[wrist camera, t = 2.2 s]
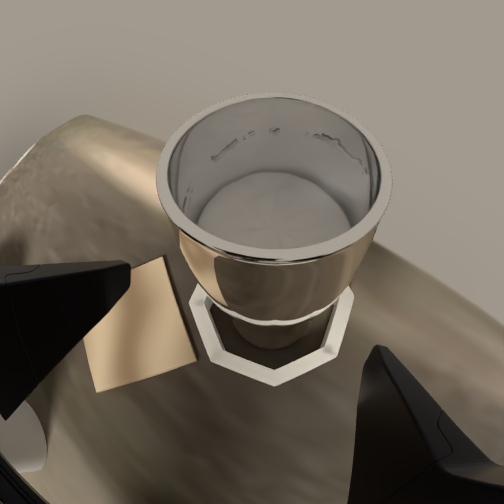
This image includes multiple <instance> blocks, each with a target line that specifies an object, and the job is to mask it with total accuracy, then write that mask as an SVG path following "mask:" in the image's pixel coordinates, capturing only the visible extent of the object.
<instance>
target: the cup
mask: <svg viewBox="0 0 504 504" xmlns="http://www.w3.org/2000/svg"><path fill="white" fill-rule="evenodd" d="M0 452H1V453H2V454H3V455H4V457H5V458H6V459H7V460H8V461H9V463H10V464H11V465H12V466H13V467H14V468H15V469H16V471H17V472H18V473H23V472H31V471H37V470H40V469H41V468H42V467H43V466H44V464H45V462H46V458H47V445H46V439H45V435H44V431H43V428H42V426H41V423H40V421H39V419H38V417H37V415H36V413H35V412H34V410H33V409H32V408H31V406H30V405H29V404H28V403H27V402H26V401H25V400H24V401H23V402H22V404H21V405H20V406H19V407H18V408H17V409H16V410H15V412H14V413H13V414H12V415H11V416H10V417H9V419H8V420H6V421H5V420H4V419H3V418H2V417H1V415H0Z"/></svg>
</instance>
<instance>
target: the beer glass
mask: <svg viewBox="0 0 504 504" xmlns="http://www.w3.org/2000/svg"><path fill="white" fill-rule="evenodd" d="M156 186H157V192H158V196H159V200H160V202H161V205H162V207H163V209H164V211H165V212H166V214H167V216H168V218H169V221H170V224H171V227H172V229H173V232H174V235H175V237H176V240H177V242H178V245H179V247H180V249H181V252H182V254H183V256H184V259H185V261H186V263H187V264H188V266H189V268H190V270H191V272H192V274H193V276H194V277H195V279H196V281H197V282H198V284H199V285H200V286H201V288H202V289H203V290H204V292H205V293H206V294H207V296H208V297H209V298H210V299H211V301H212V302H213V303H214V304H215V305H216V306H217V307H219V308H220V309H221V310H222V311H224V312H225V313H226V314H227V315H229V316H230V317H231V318H232V322H233V324H234V327H235V329H236V330H237V332H238V333H239V334H240V336H241V337H242V338H243V339H245V340H246V341H247V342H249V343H250V344H252V345H254V346H257V347H260V348H264V349H280V348H284V347H287V346H289V345H291V344H293V343H295V342H296V341H298V340H299V339H300V338H301V337H302V336H303V335H304V334H305V333H306V331H307V330H308V328H309V326H310V324H311V321H312V319H314V318H315V317H317V316H318V315H320V314H321V313H322V312H324V311H325V310H326V309H328V308H329V307H330V306H331V305H332V304H333V303H334V302H335V301H336V300H337V299H338V297H339V296H340V295H341V294H342V293H343V291H344V290H345V289H346V288H347V286H348V285H349V284H350V282H351V280H352V279H353V277H354V275H355V274H356V272H357V270H358V269H359V267H360V265H361V263H362V261H363V259H364V257H365V255H366V253H367V251H368V249H369V246H370V244H371V242H372V240H373V237H374V234H375V232H376V229H377V226H378V224H379V222H380V220H381V218H382V216H383V215H384V213H385V211H386V209H387V207H388V204H389V201H390V197H391V193H392V171H391V166H390V163H389V160H388V157H387V155H386V153H385V151H384V149H383V147H382V145H381V144H380V142H379V141H378V139H377V138H376V137H375V136H374V134H373V133H372V132H371V131H370V130H369V129H368V128H367V127H366V126H365V125H364V124H363V123H361V122H360V121H359V120H358V119H356V118H355V117H353V116H352V115H350V114H349V113H347V112H346V111H344V110H342V109H340V108H338V107H336V106H333V105H331V104H329V103H326V102H324V101H321V100H318V99H314V98H311V97H307V96H301V95H295V94H288V93H259V94H250V95H244V96H239V97H235V98H231V99H228V100H225V101H222V102H219V103H217V104H214V105H212V106H210V107H208V108H206V109H204V110H202V111H200V112H199V113H197V114H196V115H194V116H193V117H191V118H190V119H189V120H187V121H186V122H185V123H184V124H183V125H181V126H180V127H179V128H178V129H177V131H176V132H175V133H174V134H173V135H172V137H171V138H170V139H169V140H168V142H167V144H166V145H165V147H164V149H163V151H162V153H161V156H160V158H159V161H158V165H157V171H156Z"/></svg>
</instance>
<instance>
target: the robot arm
mask: <svg viewBox="0 0 504 504" xmlns="http://www.w3.org/2000/svg"><path fill="white" fill-rule="evenodd" d="M130 285H131V266H130V264H129V263H127V262H125V261H122V260H114V261H95V262H77V263H59V264H42V265H0V415H1V417H2V418H3V419H4V420H5V421H6V420H8V419H9V417H10V416H11V415H12V414H13V413H14V412H15V410H16V409H17V408H18V407H19V406H20V405H21V404H22V402H23V401H24V400H25V399H26V398H27V397H28V396H29V395H30V393H31V392H32V391H33V390H34V389H35V388H36V387H37V386H38V384H39V383H40V382H41V381H42V380H43V379H44V378H45V377H46V376H47V375H48V374H49V373H50V371H51V370H52V369H53V368H54V367H55V366H56V365H57V364H58V363H59V362H60V361H61V360H62V359H63V358H64V357H65V356H66V355H67V354H68V353H69V352H70V351H71V350H72V349H73V348H74V347H75V346H76V345H77V344H78V343H79V342H80V341H81V340H82V339H83V338H84V337H85V336H86V335H87V334H88V333H89V332H90V331H91V330H92V329H93V328H94V327H95V326H96V325H97V324H98V323H99V322H100V321H101V320H102V319H103V318H104V317H105V316H106V315H107V314H108V313H109V312H110V310H111V309H112V308H113V307H114V306H115V304H116V303H117V302H118V301H119V300H120V299H121V297H122V296H123V295H124V294H125V293H126V292H127V291H128V289H129V288H130ZM0 501H1V502H2V503H3V504H50V503H49V502H48V501H47V500H45V499H44V498H43V497H42V496H41V495H40V494H39V493H38V492H37V491H36V490H35V489H34V488H33V487H32V486H31V485H30V484H29V483H28V482H27V481H26V480H25V479H24V478H23V477H22V476H21V475H20V474H19V473H18V472H17V471H16V469H15V468H14V467H13V466H12V465H11V464H10V463H9V461H8V460H7V459H6V458H5V457H4V455H3V454H2V453H1V452H0ZM347 504H504V466H502V465H498V464H496V463H494V462H493V461H491V460H490V459H489V458H488V457H487V456H486V455H485V454H484V453H483V452H482V451H481V450H480V449H479V448H478V447H477V446H476V445H475V444H474V443H473V442H472V441H471V440H470V439H469V438H468V437H467V436H466V435H465V434H464V433H463V432H462V431H461V429H460V428H459V427H458V426H457V425H456V424H455V423H454V422H453V421H452V420H451V418H450V417H449V416H448V415H447V414H446V413H445V411H444V410H442V408H441V407H440V406H439V405H438V403H437V402H436V401H435V400H434V399H433V398H432V397H431V395H430V394H429V393H428V392H427V391H426V390H425V389H424V387H423V386H422V385H421V384H420V383H419V382H418V381H417V380H416V379H415V377H414V376H413V375H412V374H411V373H410V372H409V371H408V370H407V368H406V367H405V366H404V365H403V364H402V363H401V362H400V361H399V360H398V359H397V357H396V356H395V355H394V354H393V353H392V352H391V351H390V350H389V349H388V348H387V347H385V346H381V345H375V346H374V347H373V349H372V351H371V353H370V355H369V356H368V358H367V360H366V362H365V364H364V367H363V371H362V379H361V386H360V392H359V399H358V405H357V418H356V434H355V446H354V457H353V466H352V475H351V482H350V489H349V496H348V502H347Z"/></svg>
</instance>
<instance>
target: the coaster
mask: <svg viewBox="0 0 504 504" xmlns="http://www.w3.org/2000/svg"><path fill="white" fill-rule="evenodd" d="M84 343H85V348H86V352H87V357H88V361H89V366H90V370H91V374H92V378H93V381H94V385H95V389H96V392H102V391H106V390H110V389H113V388H117V387H120V386H123V385H127V384H130V383H133V382H137V381H140V380H143V379H146V378H149V377H153V376H156V375H159V374H162V373H165V372H168V371H170V370H173V369H176V368H179V367H182V366H185V365H188V364H190V363H193V362H196V361H197V358H196V355H195V353H194V350H193V347H192V345H191V342H190V339H189V336H188V333H187V331H186V328H185V325H184V322H183V319H182V316H181V313H180V310H179V307H178V304H177V301H176V298H175V295H174V292H173V289H172V285H171V282H170V279H169V276H168V272H167V269H166V265H165V262H164V259H163V257H160V258H158V259H155V260H153V261H150V262H148V263H146V264H143V265H141V266H139V267H136V268H134V269H132V270H131V285H130V288H129V289H128V291H127V292H126V293H125V294H124V295H123V296H122V297H121V299H120V300H119V301H118V302H117V303H116V304H115V306H114V307H113V308H112V309H111V310H110V312H109V313H108V314H107V315H106V316H105V317H104V318H103V319H102V320H101V321H100V322H99V323H98V324H97V325H96V326H95V327H94V328H93V329H92V330H91V331H90V332H89V333H88V334H87V335H86V336H85V337H84Z"/></svg>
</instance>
